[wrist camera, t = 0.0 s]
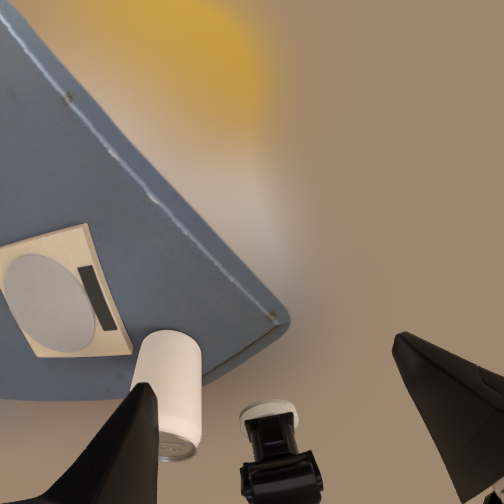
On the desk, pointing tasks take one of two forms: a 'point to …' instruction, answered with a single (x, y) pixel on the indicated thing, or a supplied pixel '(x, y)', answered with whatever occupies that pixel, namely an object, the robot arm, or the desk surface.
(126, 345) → the scale
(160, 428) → the can
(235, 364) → the desk surface
